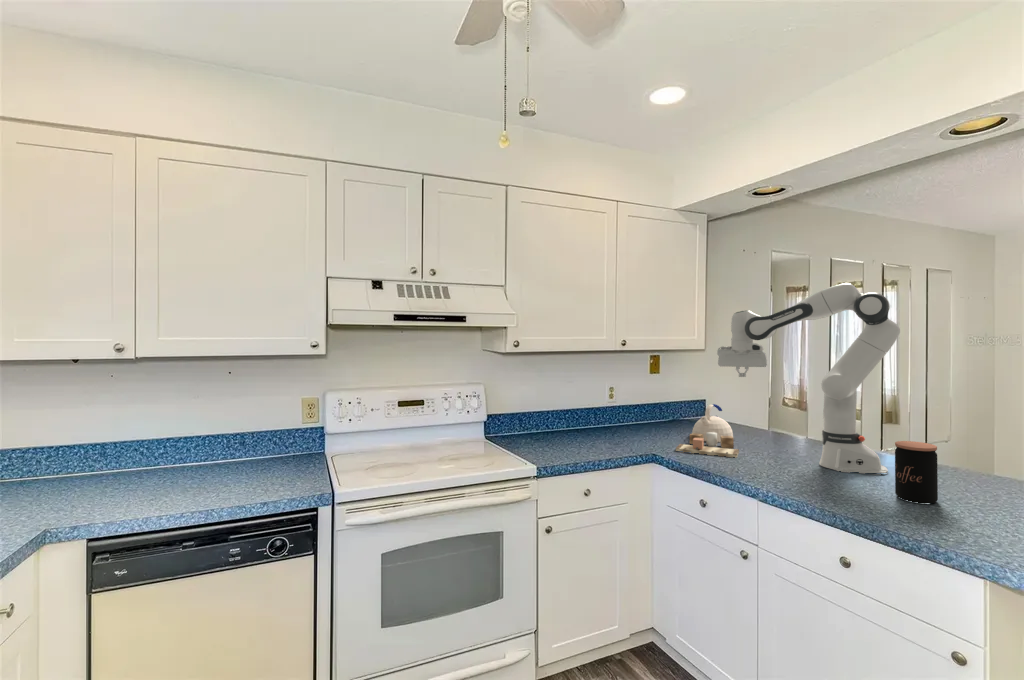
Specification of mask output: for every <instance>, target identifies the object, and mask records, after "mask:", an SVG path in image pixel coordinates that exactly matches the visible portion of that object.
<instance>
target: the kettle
mask: <svg viewBox="0 0 1024 680" xmlns="http://www.w3.org/2000/svg"><path fill="white" fill-rule="evenodd" d="M713 407H714V408H716V410H717V411H719V412H722V411H723V408H722V407H721V406H720V405H718V404H716V403H710V404H709V405H707V407H706V409H705V412H704V414H705V415H703V416H701V417H700V419H698V420H697V421H696V422H695V424H694V425H693V428H692V432H691V434H692V433H697V434H703V438H704V442H706V433H707V432H715V433H717V443H721V436H732V437H733V438H734V433H733V429H732V427H731V425H730V424H729V423H728V422H727V421H726V420H725V419H723V418H721V417H719V416H718V415H711V410H712V409H713Z"/></svg>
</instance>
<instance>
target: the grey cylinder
mask: <svg viewBox="0 0 1024 680" xmlns="http://www.w3.org/2000/svg"><path fill="white" fill-rule="evenodd" d="M705 442H706V446H707V445H708V446H707V447H718V442H717V433H715V432H707V433H706V441H705Z"/></svg>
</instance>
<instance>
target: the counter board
mask: <svg viewBox="0 0 1024 680" xmlns="http://www.w3.org/2000/svg"><path fill="white" fill-rule="evenodd" d="M676 451H683V452H682V453H684V452H691V453H690V454H694V453H699V454H698V455H704V454H707V455H706V456H714V455H718V456H717V457H724V456H726V457H727V458H733V457H735V458H736V459H737V458H738V455H739V453H740V449H738V448H734V449H733V448H722V447H717V446H707V445H706V446H705V445H704V447H703V449H696V448H693V445H690V444H685V443H679V444H678V445H677V446H676V447H675V452H676Z"/></svg>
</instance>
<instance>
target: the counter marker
mask: <svg viewBox="0 0 1024 680" xmlns="http://www.w3.org/2000/svg"><path fill="white" fill-rule="evenodd" d="M704 442H705V441H704V438H694V439H693V448H696V449H703V447H704V446H705V443H704Z"/></svg>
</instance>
